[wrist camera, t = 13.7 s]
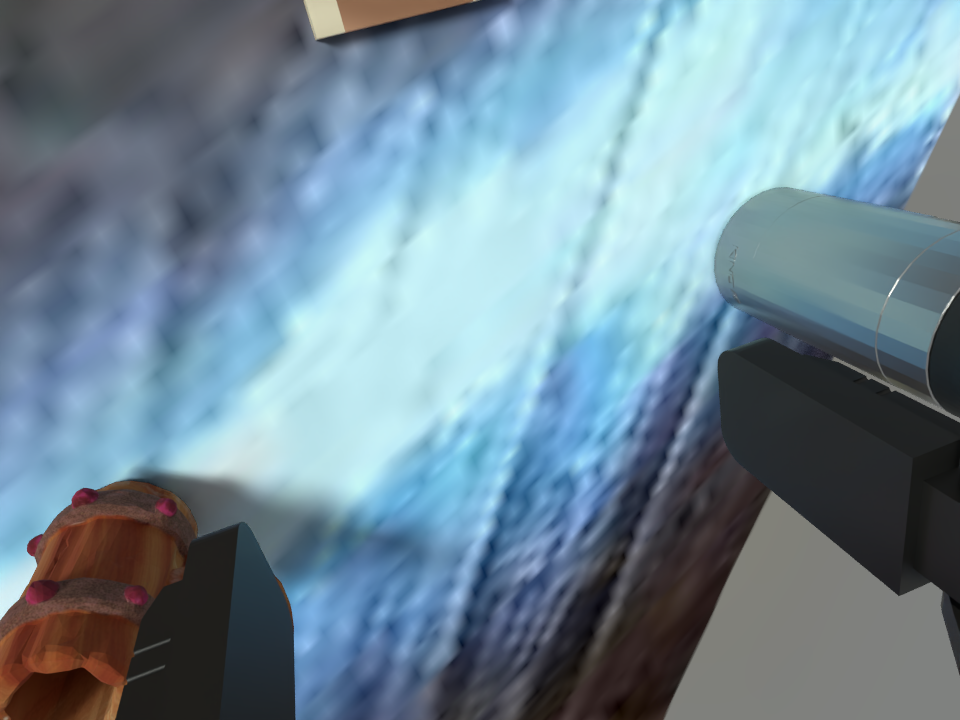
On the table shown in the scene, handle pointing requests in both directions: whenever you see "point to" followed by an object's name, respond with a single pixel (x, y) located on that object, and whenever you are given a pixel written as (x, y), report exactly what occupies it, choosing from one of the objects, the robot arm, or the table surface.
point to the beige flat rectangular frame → (367, 13)
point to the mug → (90, 601)
